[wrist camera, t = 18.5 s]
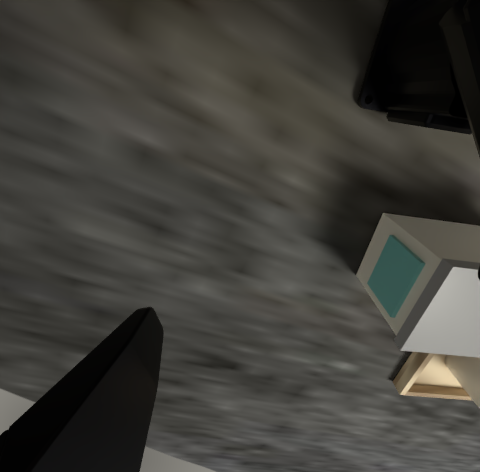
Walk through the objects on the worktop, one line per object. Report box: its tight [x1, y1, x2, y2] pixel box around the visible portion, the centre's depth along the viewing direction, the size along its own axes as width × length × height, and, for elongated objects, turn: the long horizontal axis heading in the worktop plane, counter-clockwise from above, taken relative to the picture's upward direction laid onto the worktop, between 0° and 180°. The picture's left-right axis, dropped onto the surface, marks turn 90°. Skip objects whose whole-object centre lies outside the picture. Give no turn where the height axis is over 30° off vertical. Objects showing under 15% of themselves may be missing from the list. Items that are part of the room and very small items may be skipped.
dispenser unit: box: [356, 213, 480, 358], centre depth 19 cm, size 6×10×8 cm
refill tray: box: [393, 352, 472, 400], centre depth 27 cm, size 12×12×2 cm
